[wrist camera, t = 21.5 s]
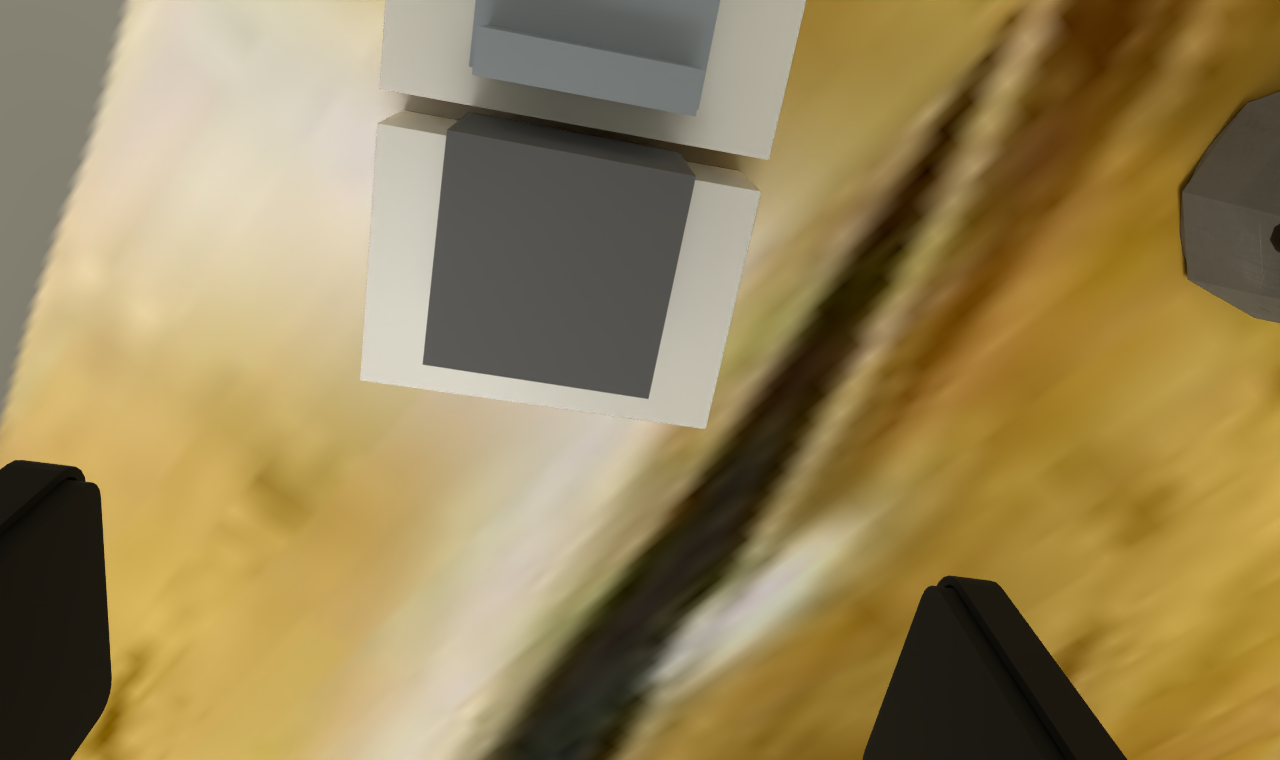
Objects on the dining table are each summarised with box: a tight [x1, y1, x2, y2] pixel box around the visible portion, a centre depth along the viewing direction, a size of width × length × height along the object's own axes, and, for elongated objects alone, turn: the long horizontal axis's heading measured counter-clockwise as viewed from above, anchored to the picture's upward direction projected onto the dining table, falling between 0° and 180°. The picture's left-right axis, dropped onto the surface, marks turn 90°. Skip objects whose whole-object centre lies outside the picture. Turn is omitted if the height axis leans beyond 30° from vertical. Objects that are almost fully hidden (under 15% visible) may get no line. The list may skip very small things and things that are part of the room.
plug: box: [422, 112, 696, 399], centre depth 27 cm, size 6×6×8 cm
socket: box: [360, 0, 806, 429], centre depth 28 cm, size 18×12×4 cm, turn 170°
